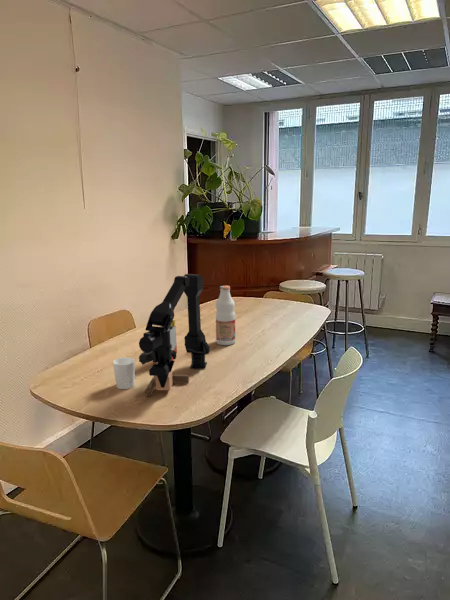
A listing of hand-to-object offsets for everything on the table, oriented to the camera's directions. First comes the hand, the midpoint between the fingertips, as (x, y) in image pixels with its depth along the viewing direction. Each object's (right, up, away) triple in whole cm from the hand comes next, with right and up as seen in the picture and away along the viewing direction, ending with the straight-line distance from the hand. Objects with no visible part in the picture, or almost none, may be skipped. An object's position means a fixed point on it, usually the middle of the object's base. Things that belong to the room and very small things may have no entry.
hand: (164, 384), depth 162 cm
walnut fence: (+1, -2, +2) cm, 4 cm away
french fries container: (-3, +4, +30) cm, 31 cm away
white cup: (-16, -2, +6) cm, 17 cm away
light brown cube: (0, -1, 0) cm, 1 cm away
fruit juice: (+23, +10, +53) cm, 59 cm away
